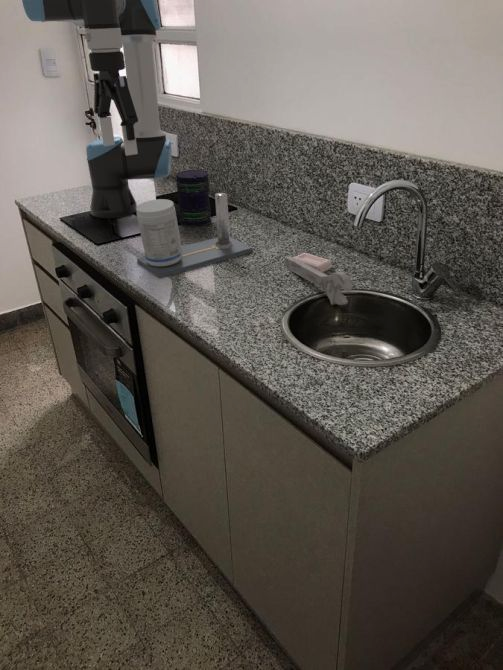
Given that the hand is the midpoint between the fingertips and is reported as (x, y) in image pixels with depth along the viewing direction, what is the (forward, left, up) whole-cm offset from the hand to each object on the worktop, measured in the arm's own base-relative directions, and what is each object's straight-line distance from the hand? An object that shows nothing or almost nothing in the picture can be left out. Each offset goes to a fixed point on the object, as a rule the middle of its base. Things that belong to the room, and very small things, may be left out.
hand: (120, 149), depth 133 cm
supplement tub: (+8, +5, -27) cm, 29 cm away
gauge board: (+8, +14, -29) cm, 33 cm away
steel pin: (+8, +23, -27) cm, 36 cm away
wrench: (+42, +26, -29) cm, 57 cm away
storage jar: (-18, +28, -29) cm, 44 cm away
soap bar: (+32, +34, -29) cm, 55 cm away
